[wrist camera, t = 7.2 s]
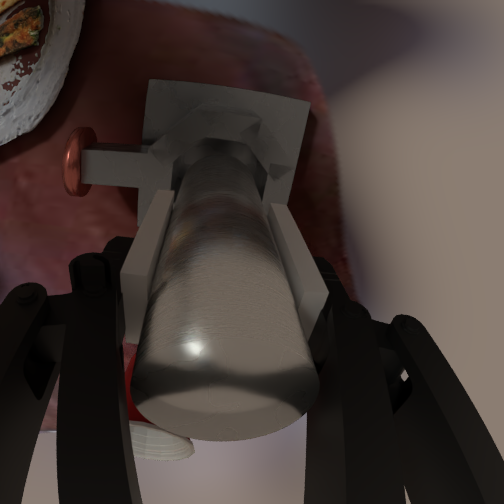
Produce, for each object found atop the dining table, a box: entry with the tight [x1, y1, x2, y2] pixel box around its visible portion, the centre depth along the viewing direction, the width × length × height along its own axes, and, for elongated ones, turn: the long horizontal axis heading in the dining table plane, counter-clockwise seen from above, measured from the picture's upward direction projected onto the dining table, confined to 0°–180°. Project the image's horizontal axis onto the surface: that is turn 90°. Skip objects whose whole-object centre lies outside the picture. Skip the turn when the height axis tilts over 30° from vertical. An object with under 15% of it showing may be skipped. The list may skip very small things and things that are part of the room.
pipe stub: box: [130, 154, 320, 441], centre depth 13 cm, size 4×4×14 cm
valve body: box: [62, 79, 311, 227], centre depth 22 cm, size 12×16×7 cm
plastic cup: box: [125, 353, 195, 461], centre depth 32 cm, size 11×11×12 cm
